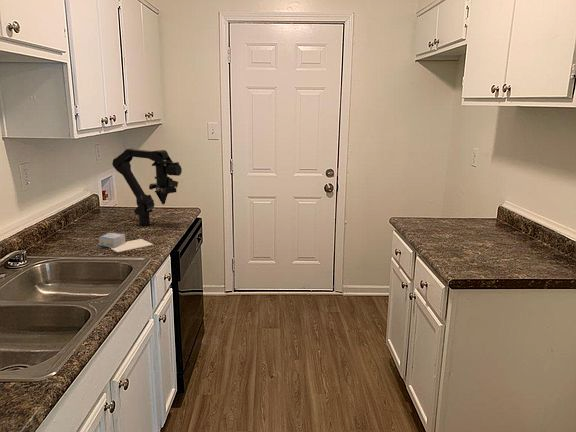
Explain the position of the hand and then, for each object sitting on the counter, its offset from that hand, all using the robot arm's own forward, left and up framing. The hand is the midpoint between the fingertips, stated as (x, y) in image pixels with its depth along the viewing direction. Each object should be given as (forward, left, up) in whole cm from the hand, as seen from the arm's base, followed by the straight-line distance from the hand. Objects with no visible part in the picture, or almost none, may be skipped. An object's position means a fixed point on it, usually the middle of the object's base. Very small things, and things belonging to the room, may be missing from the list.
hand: (163, 204), depth 244 cm
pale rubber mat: (+21, -29, -12) cm, 38 cm away
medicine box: (+13, -31, -10) cm, 35 cm away
